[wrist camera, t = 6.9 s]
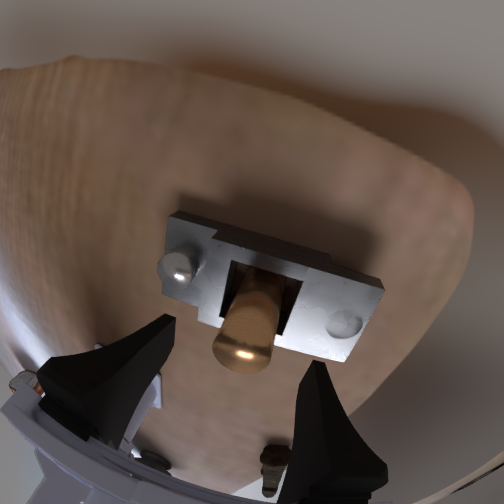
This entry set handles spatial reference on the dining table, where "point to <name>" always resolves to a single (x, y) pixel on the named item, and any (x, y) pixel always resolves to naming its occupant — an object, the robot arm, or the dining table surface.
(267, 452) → the hand tool
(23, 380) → the tin
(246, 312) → the copper pin
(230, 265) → the grey plate with knobs
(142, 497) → the robot arm
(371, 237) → the dining table surface
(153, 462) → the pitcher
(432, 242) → the dining table surface
